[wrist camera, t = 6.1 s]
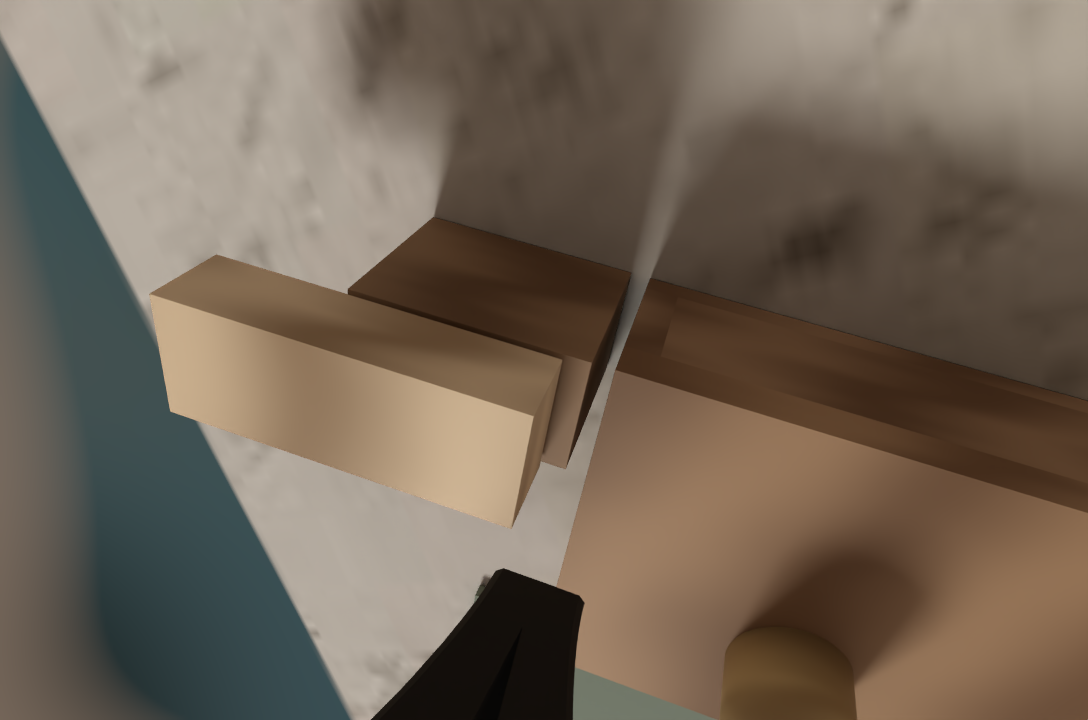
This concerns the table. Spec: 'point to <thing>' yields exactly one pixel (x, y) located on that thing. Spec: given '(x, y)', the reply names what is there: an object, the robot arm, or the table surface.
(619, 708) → the mat
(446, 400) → the block
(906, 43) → the table surface
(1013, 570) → the lid
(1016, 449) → the open wooden box
